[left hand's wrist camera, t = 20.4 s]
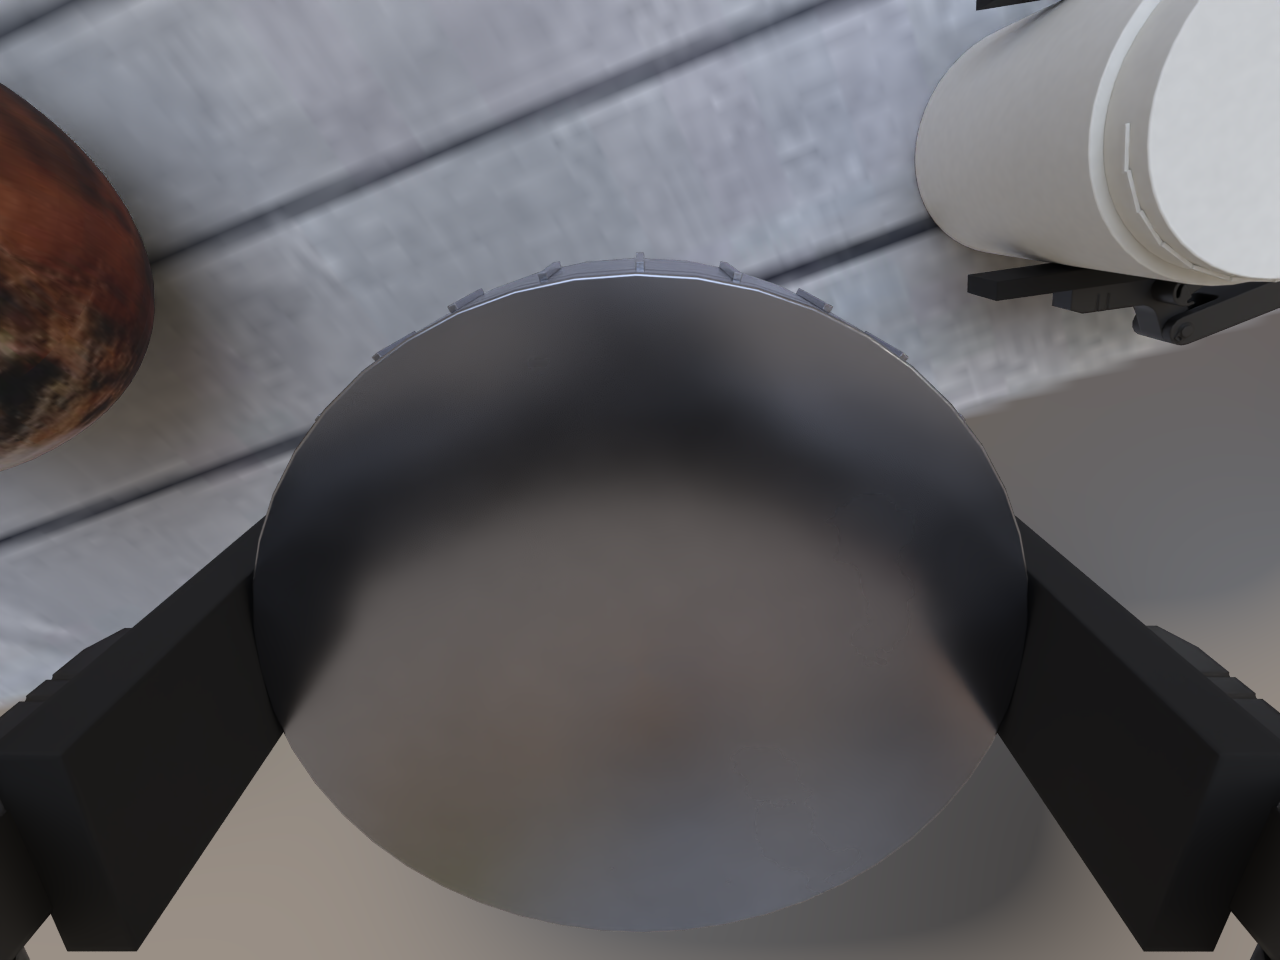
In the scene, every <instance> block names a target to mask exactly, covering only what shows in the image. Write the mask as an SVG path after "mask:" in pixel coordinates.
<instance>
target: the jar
mask: <svg viewBox="0 0 1280 960" xmlns="http://www.w3.org/2000/svg"><path fill="white" fill-rule="evenodd" d="M915 169H916V177H917V183H918V188H919V191H920V194H921V197H922V200H923V202H924V204H925V206H926V209H927V211H928V212H929V214H930V215H931V217H932V218H933V220H934V221H935V223H936V224H937V225H938V226H939V227H940V228H941V229H942V230H943V231H944V232H945V233H946V234H947V235H949V236H950V237H951V238H952V239H954V240H955V241H957V242H959V243H960V244H962V245H964V246H967V247H969V248H972V249H974V250H978V251H982V252H986V253H992V254H999V255H1005V256H1012V257H1018V258H1024V259H1031V260H1037V261H1044V262H1050V263H1057V264H1063V265H1070V266H1076V267H1082V268H1089V269H1095V270H1102V271H1108V272H1115V273H1121V274H1127V275H1134V276H1140V277H1147V278H1153V279H1160V280H1166V281H1172V282H1179V283H1185V284H1193V285H1205V286H1220V285H1234V284H1239V283H1245V282H1278V281H1280V0H1061V1H1059V2H1057V3H1055V4H1053V5H1051V6H1049V7H1046V8H1044V9H1042V10H1040V11H1038V12H1036V13H1034V14H1032V15H1029V16H1027V17H1025V18H1023V19H1021V20H1019V21H1017V22H1015V23H1012V24H1010V25H1008V26H1006V27H1004V28H1002V29H1000V30H998V31H996V32H994V33H992V34H990V35H988V36H986V37H985V38H983V39H982V40H980V41H979V42H977V43H976V44H974V45H973V46H972V47H971V48H970V49H968V50H967V51H966V52H965V53H964V54H963V55H961V56H960V57H959V59H958V60H957V61H956V62H955V63H954V64H953V65H952V66H951V67H950V68H949V70H948V71H947V72H946V74H945V75H944V76H943V78H942V79H941V80H940V82H939V83H938V85H937V87H936V88H935V90H934V92H933V94H932V95H931V97H930V100H929V102H928V104H927V106H926V108H925V111H924V114H923V117H922V120H921V123H920V126H919V131H918V136H917V141H916V151H915Z"/></svg>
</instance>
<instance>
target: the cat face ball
mask: <svg viewBox="0 0 1280 960" xmlns="http://www.w3.org/2000/svg"><path fill="white" fill-rule="evenodd" d="M154 312H155V307H154V283H153V277H152V272H151V267H150V263H149V260H148V256H147V253H146V250H145V247H144V244H143V241H142V238H141V236H140V234H139V232H138V230H137V228H136V226H135V224H134V222H133V220H132V218H131V216H130V214H129V212H128V210H127V208H126V206H125V205H124V203H123V202H122V200H121V199H120V197H119V196H118V194H117V193H116V191H115V190H114V188H113V187H112V186H111V184H110V183H109V181H108V180H107V179H106V177H105V176H104V175H103V174H102V172H101V171H100V170H99V169H98V168H97V166H96V165H95V164H94V163H93V162H92V160H91V159H90V158H89V157H88V156H87V155H86V154H85V153H84V152H83V151H82V150H81V149H80V148H79V147H78V145H77V144H75V143H74V142H73V141H72V140H71V139H70V138H69V137H68V136H67V135H66V134H65V133H64V132H63V131H62V130H61V129H60V128H59V127H57V126H56V125H55V124H54V123H53V122H52V121H50V120H49V119H48V118H47V117H46V116H45V115H43V114H42V113H41V112H40V111H38V110H37V109H36V108H35V107H33V106H32V105H31V104H29V103H28V102H27V101H26V100H24V99H23V98H21V97H20V96H19V95H17V94H16V93H14V92H13V91H11V90H10V89H9V88H7V87H6V86H4V85H3V84H1V83H0V471H3V470H6V469H9V468H12V467H15V466H17V465H20V464H22V463H25V462H27V461H30V460H32V459H34V458H36V457H38V456H41V455H43V454H45V453H47V452H49V451H51V450H53V449H55V448H56V447H58V446H60V445H61V444H63V443H65V442H67V441H68V440H70V439H72V438H73V437H75V436H76V435H78V434H79V433H80V432H82V431H83V430H84V429H86V428H87V427H89V426H90V425H91V424H93V423H94V422H95V421H96V420H97V419H98V418H99V417H101V416H102V415H103V414H104V413H105V412H106V411H107V410H108V409H109V408H110V407H111V406H112V405H113V404H114V403H115V402H116V401H117V400H118V398H119V397H120V396H121V395H122V393H123V392H124V391H125V389H126V388H127V387H128V385H129V384H130V383H131V381H132V379H133V378H134V376H135V374H136V372H137V371H138V369H139V367H140V365H141V363H142V360H143V358H144V355H145V353H146V350H147V347H148V344H149V340H150V337H151V333H152V329H153V321H154Z"/></svg>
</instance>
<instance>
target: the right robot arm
mask: <svg viewBox="0 0 1280 960" xmlns="http://www.w3.org/2000/svg"><path fill="white" fill-rule="evenodd" d="M1032 1H1039V0H977V1H976V10H983V9H989V8H995V7H1001V6H1008V5H1014V4H1020V3H1026V2H1032ZM967 292H968V293H971V294H974V295H978V296H981V297H985V298H988V299H992V300H995V301H999V300H1006V299H1013V298H1020V297H1027V296H1034V295H1042V294H1049V293H1053V302H1052V306H1056V307H1060V308H1063V309H1067V310H1071V311H1075V312H1079V313H1090V312H1096V311H1104V310H1111V309H1119V308H1126V307H1134V309H1135V312H1136V316H1135V317H1134V320H1133V326H1132V327H1133V329H1134V331H1135V332H1136V333H1137V334H1140V335H1144V336H1147V337H1150V338H1154V339H1158V340H1161V341H1165V342H1169V343H1173V344H1177V345H1186V344H1189V343H1191V342H1194V341H1197V340H1199V339H1202V338H1204V337H1207V336H1209V335H1212V334H1214V333H1217V332H1219V331H1222V330H1224V329H1227V328H1229V327H1232V326H1235V325H1237V324H1240V323H1242V322H1245V321H1247V320H1250V319H1252V318H1255V317H1257V316H1260V315H1262V314H1265V313H1267V312H1270V311H1272V310H1275V309H1278V308H1280V281H1278V282H1245V283H1239V284H1234V285H1220V286H1205V285H1193V284H1185V283H1179V282H1172V281H1166V280H1160V279H1153V278H1147V277H1140V276H1134V275H1127V274H1121V273H1115V272H1108V271H1102V270H1095V269H1089V268H1082V267H1076V266H1070V265H1063V264H1057V263H1048V264H1041V265H1034V266H1027V267H1020V268H1013V269H1006V270H999V271H992V272H985V273H978V274H971V275H968V291H967Z"/></svg>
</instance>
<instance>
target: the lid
mask: <svg viewBox="0 0 1280 960" xmlns="http://www.w3.org/2000/svg"><path fill="white" fill-rule="evenodd" d="M832 308H833V307H832V306H831V305H829V304H827V303H826V302H824V301H822V300H820V299H818V298H816V297H815V296H813V295H811V294H809V293H807V292H806V291H804V290H802V289H800V288H799V289H798V291H797V293H796V294H795V293H793V292H791V291H789V290H787V289H786V288H784V287H782V286H779V285H776V284H773V283H770V282H767V281H764V280H761V279H759V278H756V277H753V276H750V275H747V274H744V273H741V272H740V271H738V270H737V269H735V268H734V267H733V266H731V265H730V264H728V263H727V262H722V261H721V262H720V266H719V267H715V266H710V265H705V264H700V263H695V262H690V261H681V260H664V259H647V258H644V252H637V253H636V258H629V259H616V260H603V261H590V262H584V263H579V264H574V265H570V266H565V267H561V264H560V261H558V262H554V263H552V264H551V265H549V266H548V267H546V268H545V269H544V270H542V271H541V272H538V273H535V274H533V275H530V276H527V277H525V278H522V279H519V280H516V281H514V282H511V283H508V284H506V285H503V286H500V287H498V288H495V289H492V290H490V291H489V292H487V293H485V294H484V292H483V290H482V288H481V289H479V290H477V291H475V292H473V293H471V294H469V295H468V296H466V297H464V298H462V299H460V300H459V301H457V302H455V303H453V304H451V305H450V306H448V309H449V310H450V313H448V314H446V315H445V316H443V317H441V318H440V319H438V320H436V321H435V322H433V323H431V324H429V325H428V326H426V327H424V328H423V329H421V330H419V331H418V332H415V331H414V332H412V333H410V334H409V335H407V336H405V337H403V338H402V339H400V340H398V341H396V342H395V343H393V344H391V345H390V346H388V347H386V348H384V349H383V350H381V351H379V352H377V353H376V354H375V355H374V356H373V357H372V358H373V359H374V360H375V362H374V363H372V364H371V365H370V366H368V367H367V368H366V369H364V370H363V371H362V372H361V373H360V374H359V375H358V376H357V377H356V378H355V379H354V380H353V381H352V382H351V383H350V384H349V385H348V386H347V387H346V388H345V389H344V390H343V391H342V392H341V393H340V394H339V395H338V396H337V397H336V398H335V399H334V400H333V401H332V402H331V403H330V404H329V405H328V406H327V407H326V408H325V409H324V411H323V412H322V413H321V414H319V415H318V417H317V418H316V419H315V421H316V422H315V423H314V424H313V426H312V427H311V429H310V430H309V431H308V433H307V434H306V436H305V437H304V438H303V440H302V441H301V443H300V444H299V445H298V447H297V448H296V449H295V451H294V453H293V455H292V457H291V459H290V461H289V463H288V465H287V467H286V469H285V471H284V473H283V475H282V477H281V479H280V481H279V483H278V485H277V487H276V489H275V491H274V493H273V495H272V498H271V501H270V505H269V508H268V511H267V514H266V517H265V521H264V524H263V527H262V530H261V533H260V537H259V540H258V547H257V554H256V561H255V568H254V575H253V582H252V611H253V633H254V639H255V645H256V650H257V655H258V659H259V664H260V668H261V673H262V676H263V680H264V684H265V688H266V691H267V694H268V697H269V700H270V703H271V706H272V709H273V712H274V714H275V716H276V718H277V720H278V722H279V724H280V726H281V728H282V730H283V732H284V734H285V736H286V738H287V740H288V742H289V744H290V746H291V748H292V750H293V751H294V753H295V754H296V756H297V757H298V759H299V760H300V761H301V763H302V764H303V766H304V767H305V769H306V770H307V772H308V773H309V775H310V776H311V778H312V779H313V781H314V782H315V784H316V785H317V786H318V787H319V788H320V789H321V790H322V792H323V793H324V794H325V795H326V796H327V797H328V798H329V800H330V801H331V802H332V803H333V804H334V805H335V806H336V808H337V809H338V810H339V811H340V812H341V813H342V814H343V815H344V816H345V817H346V818H347V819H348V820H349V821H350V822H352V823H353V824H354V825H355V826H356V827H357V828H358V829H359V830H360V831H362V832H363V833H364V834H365V835H366V836H367V837H368V838H369V839H370V840H371V841H373V842H374V843H375V844H377V845H378V846H380V847H381V848H382V849H384V850H385V851H387V852H388V853H389V854H391V855H392V856H393V857H395V858H396V859H398V860H399V861H401V862H402V863H403V864H405V865H406V866H408V867H409V868H411V869H413V870H415V871H416V872H418V873H420V874H422V875H423V876H425V877H427V878H429V879H431V880H432V881H434V882H436V883H438V884H439V885H441V886H443V887H445V888H448V889H450V890H452V891H454V892H457V893H459V894H461V895H464V896H466V897H468V898H470V899H472V900H475V901H477V902H479V903H482V904H485V905H488V906H491V907H494V908H497V909H500V910H503V911H506V912H510V913H513V914H516V915H518V916H522V917H527V918H531V919H535V920H540V921H544V922H549V923H553V924H558V925H563V926H571V927H578V928H586V929H593V930H601V931H625V932H657V931H677V930H688V929H695V928H703V927H710V926H717V925H724V924H729V923H733V922H737V921H741V920H745V919H750V918H754V917H758V916H762V915H766V914H769V913H772V912H775V911H778V910H781V909H784V908H787V907H790V906H793V905H796V904H799V903H801V902H804V901H807V900H809V899H811V898H813V897H815V896H818V895H820V894H822V893H824V892H826V891H829V890H831V889H833V888H835V887H838V886H840V885H842V884H844V883H846V882H847V881H849V880H851V879H852V878H854V877H856V876H858V875H859V874H861V873H863V872H864V871H866V870H868V869H870V868H871V867H873V866H875V865H876V864H878V863H880V862H881V861H882V860H884V859H885V858H886V857H888V856H889V855H890V854H892V853H893V852H894V851H896V850H897V849H899V848H900V847H901V846H903V845H904V844H905V843H907V842H908V841H909V840H911V839H912V838H913V837H914V836H915V835H916V834H917V833H919V832H920V831H921V830H922V829H923V828H924V827H925V826H926V825H927V824H928V823H929V822H930V821H931V820H932V819H934V818H935V817H936V816H937V815H938V814H939V813H940V812H941V811H942V810H943V809H944V808H945V807H946V805H947V804H948V803H949V802H950V801H951V800H952V798H953V797H954V796H955V795H956V794H957V793H958V791H959V790H960V789H961V788H962V787H963V785H964V784H965V783H966V782H967V781H968V779H969V778H970V777H971V775H972V774H973V772H974V771H975V769H976V767H977V766H978V764H979V763H980V761H981V760H982V758H983V757H984V755H985V754H986V752H987V750H988V749H989V747H990V746H991V744H992V742H993V740H994V738H995V736H996V734H997V732H998V730H999V728H1000V725H1001V723H1002V721H1003V719H1004V717H1005V715H1006V713H1007V711H1008V708H1009V706H1010V703H1011V700H1012V697H1013V693H1014V690H1015V687H1016V683H1017V680H1018V676H1019V672H1020V668H1021V664H1022V659H1023V654H1024V649H1025V643H1026V636H1027V630H1028V575H1027V569H1026V563H1025V557H1024V551H1023V545H1022V539H1021V533H1020V530H1019V527H1018V524H1017V521H1016V518H1015V515H1014V512H1013V509H1012V506H1011V503H1010V500H1009V498H1008V495H1007V492H1006V489H1005V487H1004V485H1003V483H1002V481H1001V479H1000V477H999V476H998V474H997V472H996V470H995V468H994V466H993V464H992V462H991V460H990V459H989V457H988V455H987V453H986V451H985V449H984V447H983V445H982V444H981V442H980V441H979V440H978V438H977V437H976V436H975V435H974V433H973V432H972V431H971V429H970V428H969V427H968V425H967V424H966V423H965V419H964V417H963V416H962V415H961V414H960V413H958V412H957V411H956V409H955V408H954V407H953V405H952V404H951V403H950V402H949V401H948V400H947V399H946V398H945V397H944V396H943V395H942V394H941V393H940V392H939V391H938V390H937V389H936V388H935V387H934V386H932V385H931V384H930V383H929V382H928V381H927V380H926V379H925V378H924V377H923V376H922V375H921V374H920V373H919V372H918V371H917V370H916V369H915V368H914V367H913V366H912V365H910V364H909V363H907V362H906V360H907V359H908V356H907V355H905V354H904V353H903V352H901V351H900V350H898V349H896V348H894V347H893V346H891V345H889V344H888V343H886V342H884V341H882V340H881V339H879V338H877V337H875V336H874V335H872V334H870V333H869V332H867V331H865V332H863V331H862V330H860V329H858V328H857V327H855V326H853V325H851V324H850V323H848V322H846V321H845V320H843V319H841V318H840V317H838V316H836V315H835V314H833V313H831V312H830V311H831V309H832Z"/></svg>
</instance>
